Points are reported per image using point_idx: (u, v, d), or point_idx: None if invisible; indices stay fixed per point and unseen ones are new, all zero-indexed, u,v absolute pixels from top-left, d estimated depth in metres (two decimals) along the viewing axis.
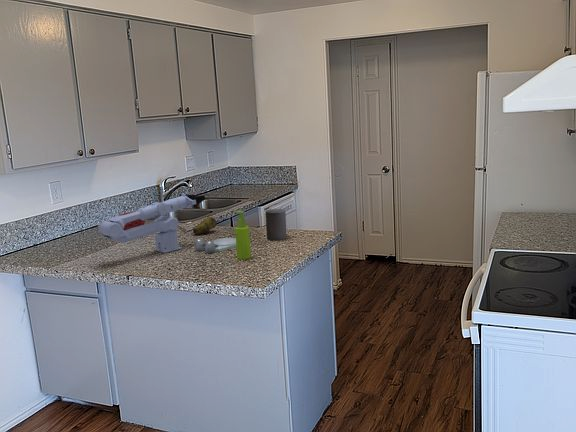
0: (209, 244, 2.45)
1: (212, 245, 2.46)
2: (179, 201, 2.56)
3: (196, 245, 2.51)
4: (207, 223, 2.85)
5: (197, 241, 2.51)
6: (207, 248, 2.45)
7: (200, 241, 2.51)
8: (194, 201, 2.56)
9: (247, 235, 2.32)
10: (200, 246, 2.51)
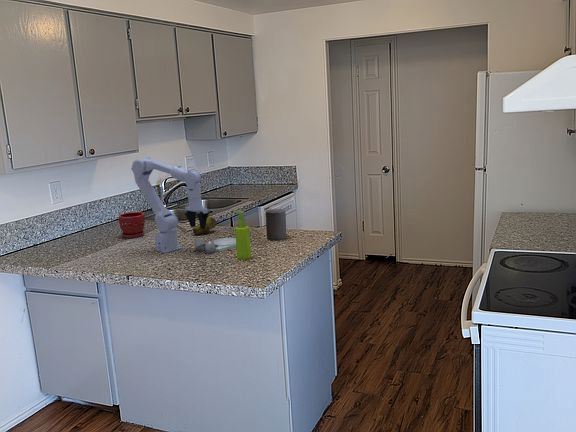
0: (209, 244, 2.45)
1: (212, 245, 2.46)
2: None
3: (196, 245, 2.51)
4: (207, 223, 2.85)
5: (197, 241, 2.51)
6: (207, 248, 2.45)
7: (200, 241, 2.51)
8: None
9: (247, 235, 2.32)
10: (200, 246, 2.51)
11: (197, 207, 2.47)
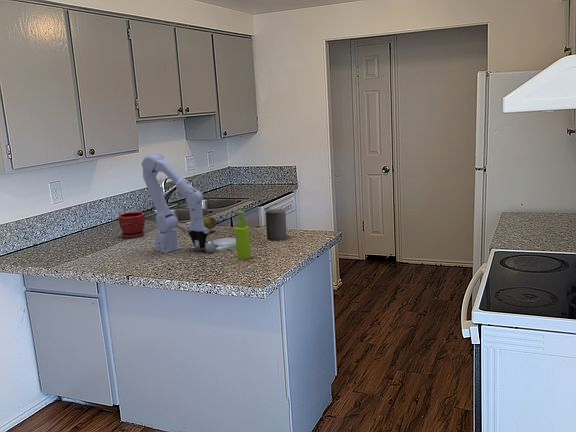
0: (209, 244, 2.45)
1: (212, 245, 2.46)
2: None
3: (196, 245, 2.51)
4: (207, 223, 2.85)
5: (197, 241, 2.51)
6: (207, 248, 2.45)
7: None
8: None
9: (247, 235, 2.32)
10: None
11: (199, 227, 2.49)
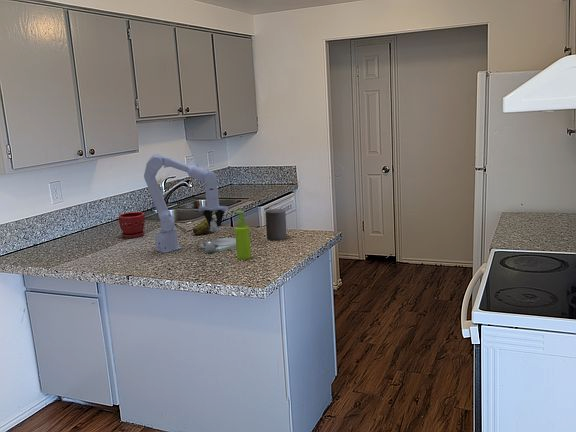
0: (209, 244, 2.45)
1: (212, 245, 2.46)
2: (206, 199, 2.57)
3: (213, 225, 2.57)
4: (207, 223, 2.85)
5: (214, 222, 2.57)
6: (207, 248, 2.45)
7: None
8: None
9: (247, 235, 2.32)
10: (217, 226, 2.58)
11: (217, 206, 2.56)
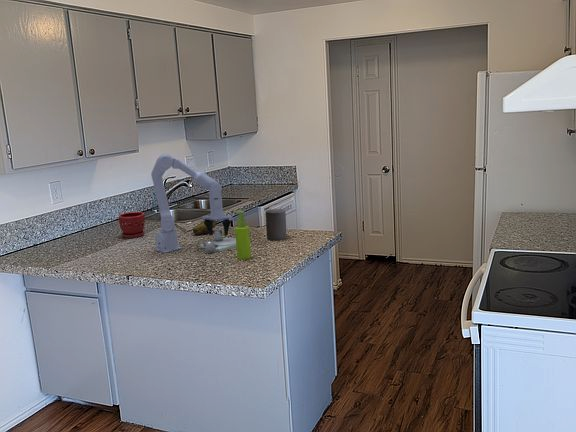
0: (209, 244, 2.45)
1: (212, 245, 2.46)
2: (210, 208, 2.59)
3: (217, 235, 2.60)
4: None
5: (218, 231, 2.59)
6: (207, 248, 2.45)
7: (221, 231, 2.60)
8: None
9: (247, 235, 2.32)
10: (221, 236, 2.60)
11: (221, 215, 2.59)
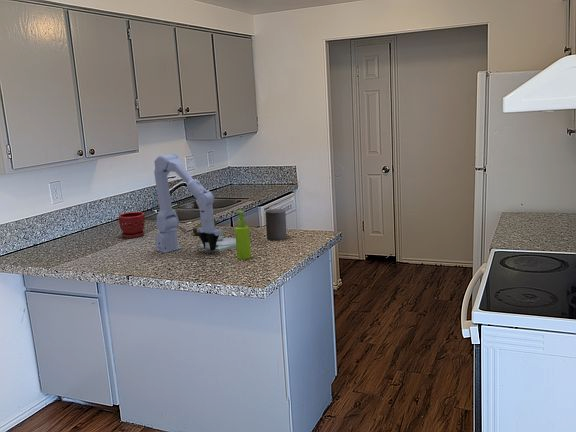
0: None
1: None
2: None
3: None
4: None
5: None
6: (207, 248, 2.45)
7: (221, 231, 2.60)
8: None
9: (247, 235, 2.32)
10: (221, 236, 2.60)
11: (209, 229, 2.43)
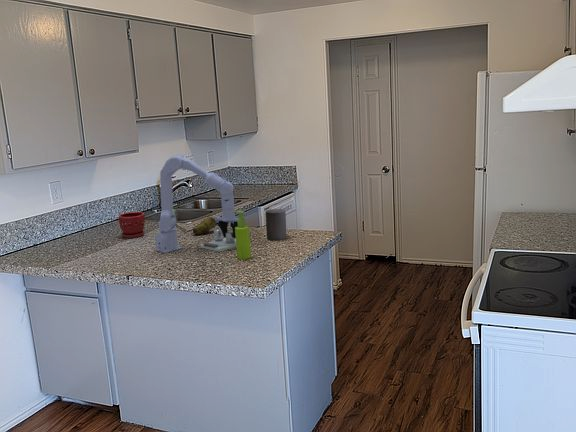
0: (231, 234, 2.53)
1: None
2: None
3: (217, 235, 2.60)
4: (207, 223, 2.85)
5: (218, 231, 2.60)
6: (228, 238, 2.54)
7: (221, 231, 2.60)
8: None
9: (247, 235, 2.32)
10: (221, 236, 2.60)
11: (232, 217, 2.52)
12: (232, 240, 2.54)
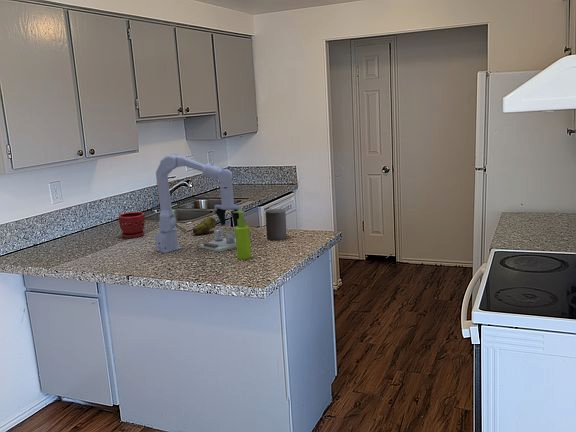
0: (230, 234, 2.53)
1: (233, 235, 2.54)
2: None
3: (217, 235, 2.60)
4: (207, 223, 2.84)
5: (218, 231, 2.59)
6: (228, 238, 2.54)
7: (221, 231, 2.60)
8: None
9: (247, 235, 2.32)
10: (221, 236, 2.61)
11: (231, 205, 2.51)
12: (232, 240, 2.54)
